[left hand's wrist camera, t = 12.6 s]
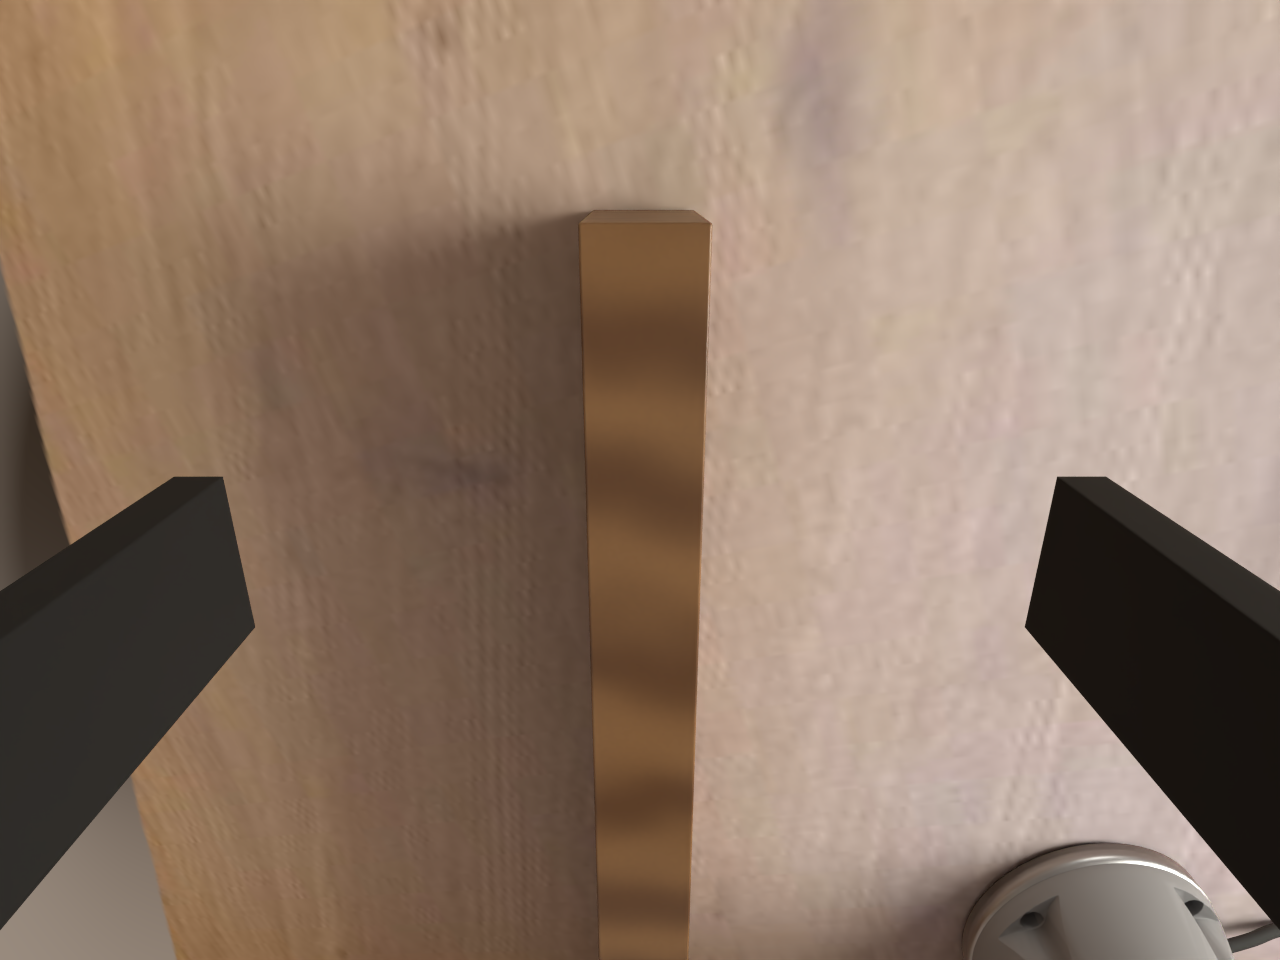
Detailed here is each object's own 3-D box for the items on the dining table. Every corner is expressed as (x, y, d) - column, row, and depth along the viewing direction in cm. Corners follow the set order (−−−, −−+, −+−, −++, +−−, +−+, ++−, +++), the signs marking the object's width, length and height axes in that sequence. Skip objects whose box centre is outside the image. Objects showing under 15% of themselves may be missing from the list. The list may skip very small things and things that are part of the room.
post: (592, 210, 34) (578, 222, 26) (695, 210, 34) (712, 222, 26) (611, 1091, 57) (607, 1242, 49) (673, 1091, 57) (678, 1242, 49)
